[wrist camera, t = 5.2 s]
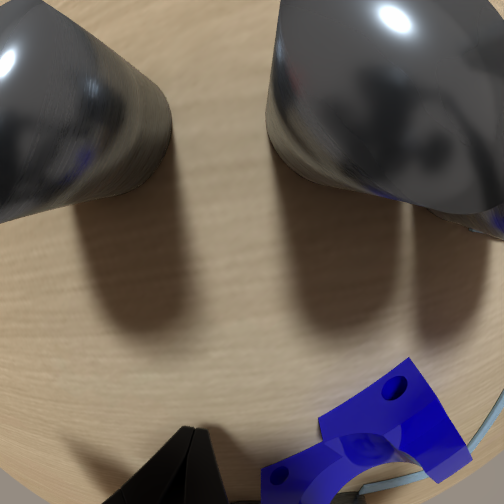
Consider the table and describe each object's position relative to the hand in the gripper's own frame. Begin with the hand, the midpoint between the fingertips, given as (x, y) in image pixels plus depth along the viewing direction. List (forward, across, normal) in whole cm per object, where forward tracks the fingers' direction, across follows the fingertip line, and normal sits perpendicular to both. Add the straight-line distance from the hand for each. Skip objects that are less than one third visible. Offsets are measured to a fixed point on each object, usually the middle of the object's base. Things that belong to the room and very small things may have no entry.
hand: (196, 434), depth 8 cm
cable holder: (+2, -6, +2) cm, 6 cm away
